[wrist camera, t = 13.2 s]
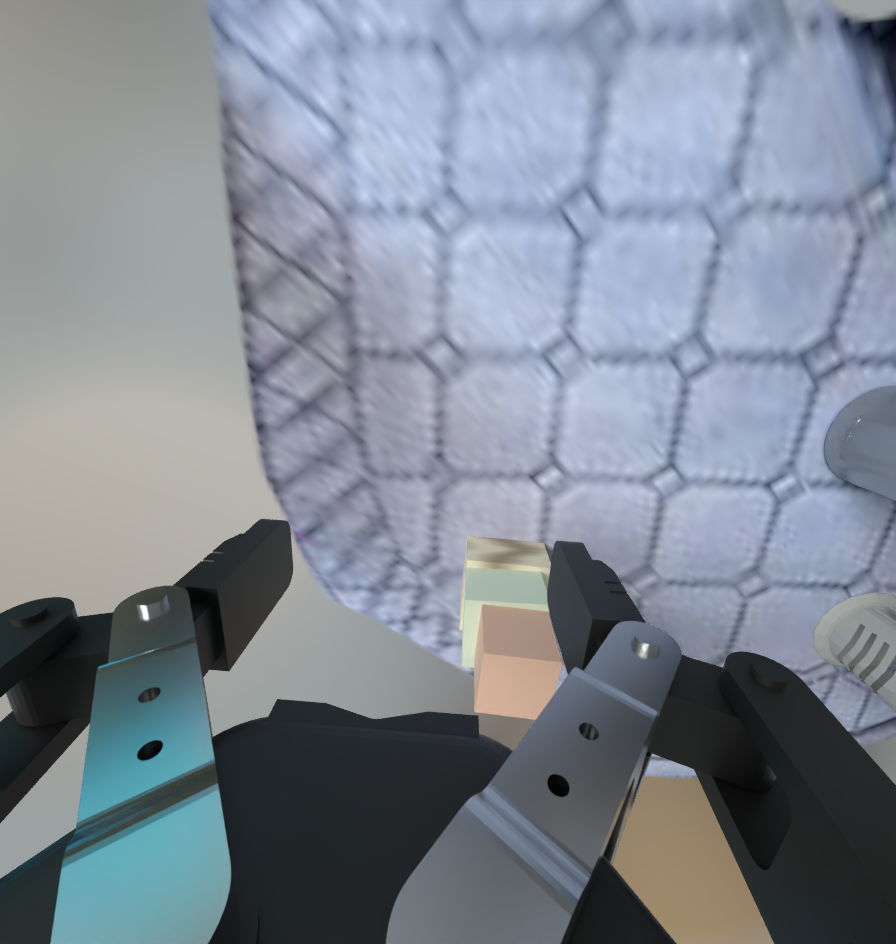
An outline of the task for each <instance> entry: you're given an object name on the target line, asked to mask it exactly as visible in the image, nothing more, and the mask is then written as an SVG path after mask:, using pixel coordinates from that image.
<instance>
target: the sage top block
mask: <svg viewBox="0 0 896 944" xmlns="http://www.w3.org/2000/svg"><path fill="white" fill-rule="evenodd" d="M482 604H487V605H495V606H504V607H512V608H521V609H529V610H538V611H547V612H549V608H548V603H547V591H546V587H545V584H544V581H543V577H542V574H541V571H525V570H508V569H490V568H473V567H466V573H465V592H464V610H463V630H462V667H468V668H474V654H475V648H476V641H477V634H478V627H479V621H480V614H481V607H482ZM549 613H550V612H549Z"/></svg>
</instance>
